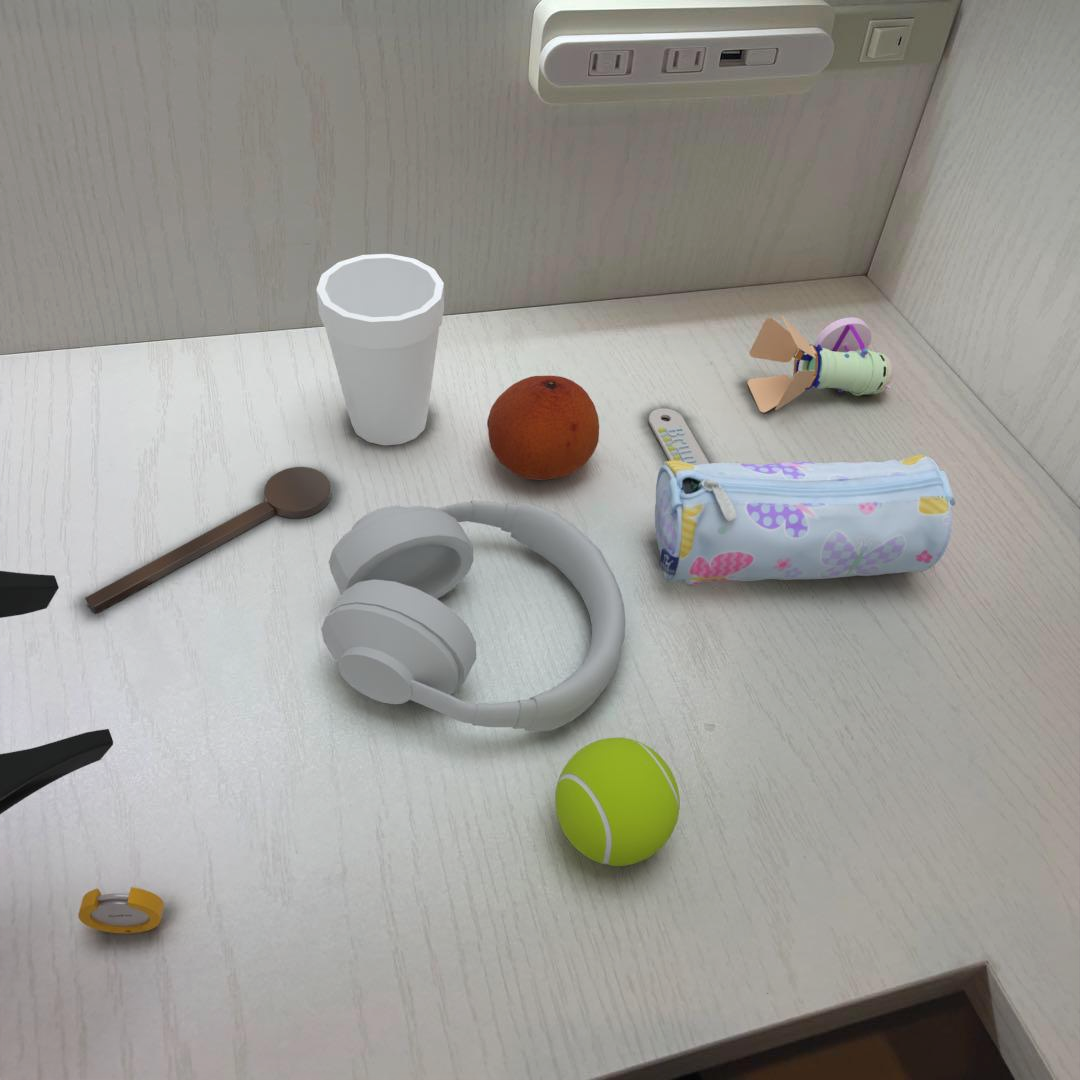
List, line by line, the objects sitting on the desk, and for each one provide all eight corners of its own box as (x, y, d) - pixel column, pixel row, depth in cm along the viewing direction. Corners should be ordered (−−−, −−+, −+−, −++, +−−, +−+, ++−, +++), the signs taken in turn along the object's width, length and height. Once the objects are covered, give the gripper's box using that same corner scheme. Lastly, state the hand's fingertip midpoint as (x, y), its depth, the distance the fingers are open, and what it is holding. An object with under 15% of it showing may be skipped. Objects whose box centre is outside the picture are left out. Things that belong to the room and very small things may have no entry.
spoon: (109, 630, 65) (106, 622, 65) (73, 588, 68) (70, 581, 67) (344, 497, 76) (343, 490, 75) (306, 465, 78) (304, 457, 77)
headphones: (309, 750, 59) (624, 765, 63) (314, 675, 54) (659, 696, 57) (333, 533, 72) (594, 556, 76) (339, 454, 66) (620, 484, 70)
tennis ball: (623, 759, 61) (638, 695, 56) (692, 849, 57) (715, 789, 52) (529, 810, 58) (536, 748, 53) (595, 909, 54) (609, 852, 49)
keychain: (644, 407, 84) (676, 403, 85) (643, 413, 85) (675, 409, 86) (689, 489, 78) (723, 483, 78) (687, 494, 78) (722, 489, 79)
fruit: (568, 418, 84) (577, 341, 78) (609, 486, 78) (621, 408, 73) (471, 437, 81) (472, 358, 76) (506, 508, 76) (510, 429, 70)
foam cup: (309, 420, 82) (290, 284, 72) (390, 373, 87) (382, 241, 77) (388, 473, 78) (378, 337, 68) (467, 421, 83) (469, 288, 73)
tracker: (90, 935, 52) (69, 904, 49) (94, 919, 52) (73, 889, 49) (167, 931, 52) (151, 901, 49) (170, 916, 52) (154, 885, 50)
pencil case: (653, 605, 70) (675, 512, 63) (636, 520, 76) (654, 426, 69) (931, 600, 72) (981, 509, 65) (893, 517, 78) (935, 425, 71)
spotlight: (766, 425, 85) (803, 358, 80) (737, 362, 90) (771, 296, 85) (882, 433, 89) (926, 369, 83) (848, 372, 94) (887, 309, 88)
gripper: (-277, 920, 29) (162, 784, 39) (-366, 507, 33) (52, 480, 43) (-291, 975, 33) (106, 840, 43) (-369, 605, 37) (11, 560, 47)
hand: (76, 666), depth 43 cm, fingers open, 7 cm apart
